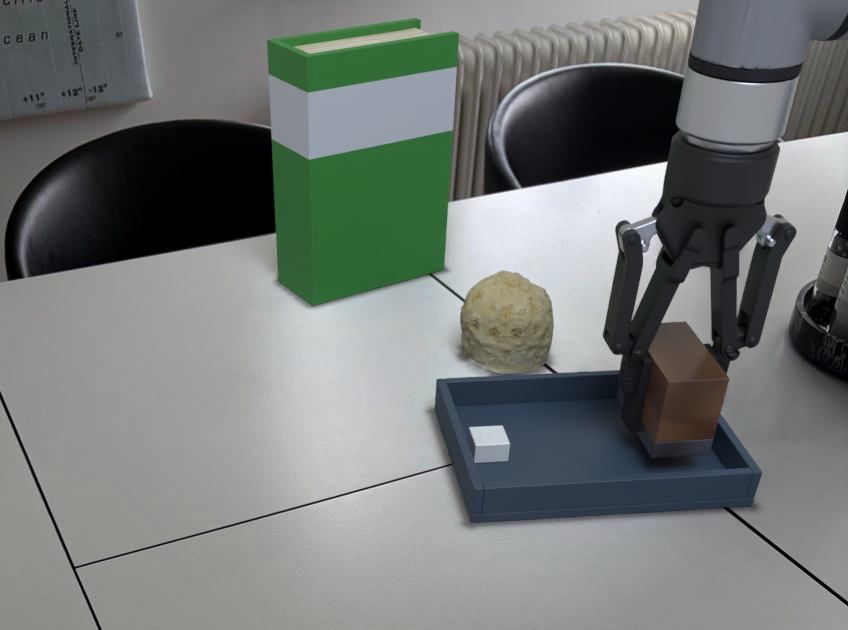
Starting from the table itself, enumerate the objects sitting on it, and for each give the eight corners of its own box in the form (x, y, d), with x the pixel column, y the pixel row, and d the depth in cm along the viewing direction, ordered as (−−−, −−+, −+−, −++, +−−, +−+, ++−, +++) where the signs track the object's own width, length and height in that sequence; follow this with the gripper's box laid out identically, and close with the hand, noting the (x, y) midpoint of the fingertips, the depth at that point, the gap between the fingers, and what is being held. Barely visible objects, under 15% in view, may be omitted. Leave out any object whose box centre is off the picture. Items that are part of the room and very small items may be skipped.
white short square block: (500, 442, 91) (502, 424, 89) (508, 461, 89) (510, 443, 87) (467, 444, 90) (468, 426, 89) (473, 463, 88) (475, 445, 87)
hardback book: (406, 247, 124) (415, 17, 107) (444, 269, 119) (459, 33, 103) (278, 281, 116) (266, 39, 100) (312, 305, 112) (306, 57, 96)
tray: (679, 398, 98) (687, 366, 96) (752, 506, 86) (763, 472, 83) (434, 410, 96) (436, 378, 94) (470, 523, 83) (474, 489, 81)
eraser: (669, 394, 94) (686, 321, 89) (709, 454, 86) (730, 378, 82) (615, 397, 93) (629, 323, 88) (651, 458, 86) (668, 381, 81)
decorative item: (547, 396, 106) (583, 300, 104) (516, 374, 97) (555, 269, 95) (465, 372, 110) (499, 278, 108) (429, 348, 101) (465, 246, 99)
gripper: (825, 115, 77) (745, 395, 93) (589, 122, 76) (548, 405, 91) (873, 148, 72) (779, 439, 88) (619, 156, 70) (570, 452, 86)
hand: (661, 422), depth 89 cm, fingers closed on eraser, 5 cm apart
